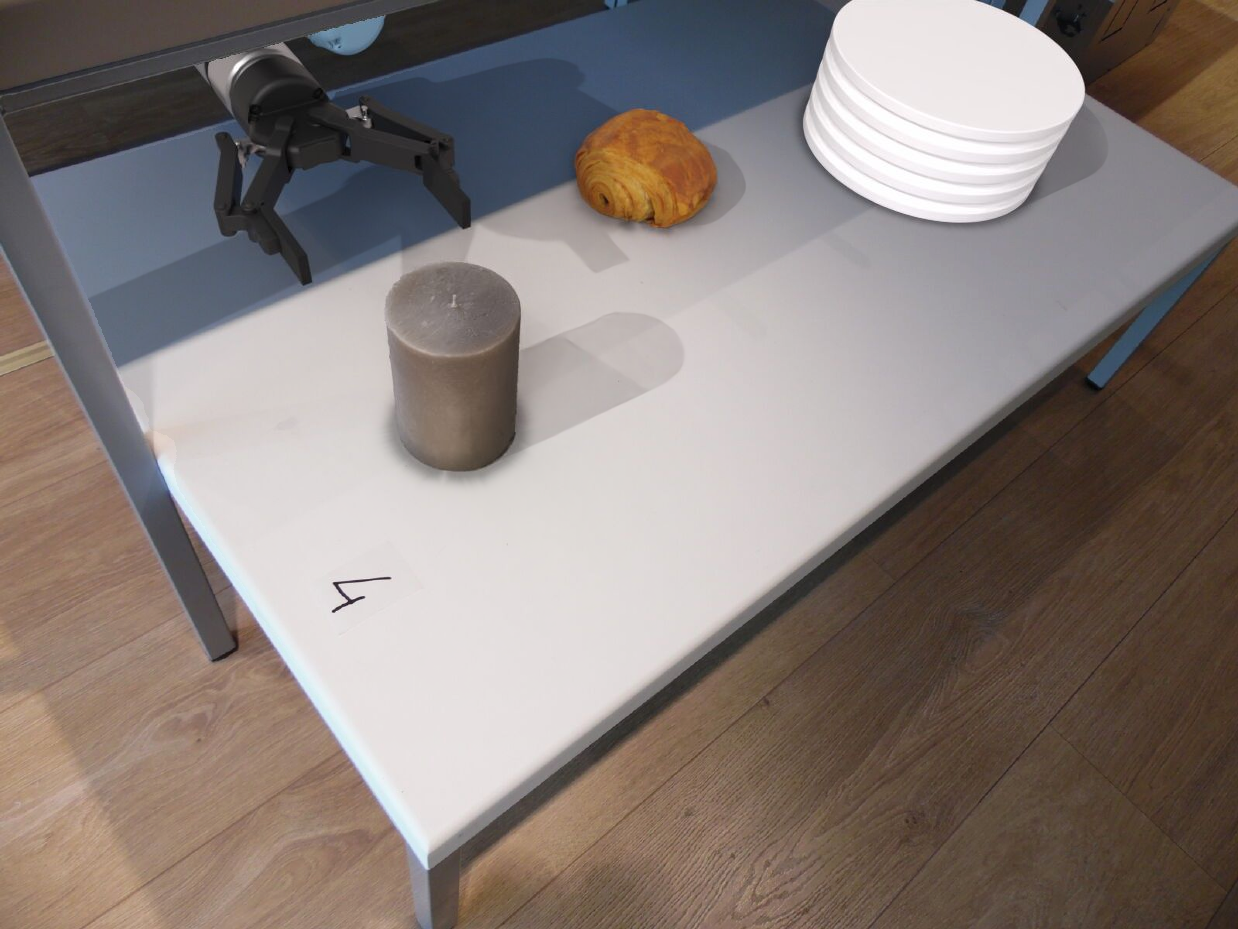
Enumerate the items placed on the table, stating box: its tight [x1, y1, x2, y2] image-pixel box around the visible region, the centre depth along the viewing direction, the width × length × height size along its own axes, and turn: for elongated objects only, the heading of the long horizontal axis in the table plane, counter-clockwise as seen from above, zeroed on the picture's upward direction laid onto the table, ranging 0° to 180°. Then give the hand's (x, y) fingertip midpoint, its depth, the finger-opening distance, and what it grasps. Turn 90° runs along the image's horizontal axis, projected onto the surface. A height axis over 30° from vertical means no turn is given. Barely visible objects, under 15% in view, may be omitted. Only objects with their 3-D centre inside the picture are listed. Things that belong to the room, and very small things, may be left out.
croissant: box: [573, 107, 718, 229], centre depth 95 cm, size 14×16×8 cm
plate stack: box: [802, 0, 1086, 224], centre depth 104 cm, size 28×28×12 cm
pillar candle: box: [383, 260, 522, 473], centre depth 70 cm, size 10×10×15 cm
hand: (389, 241), depth 70 cm, fingers open, 13 cm apart
